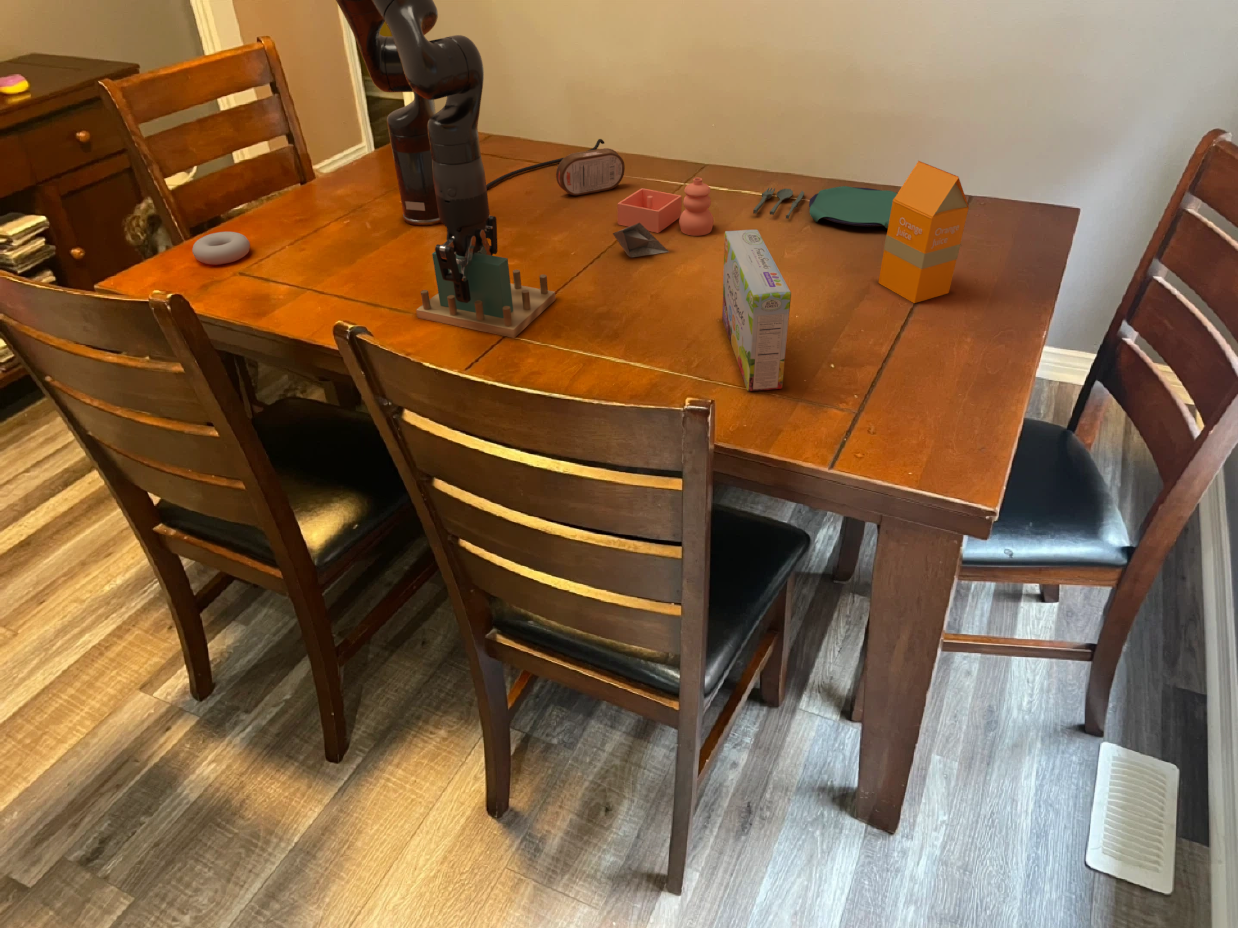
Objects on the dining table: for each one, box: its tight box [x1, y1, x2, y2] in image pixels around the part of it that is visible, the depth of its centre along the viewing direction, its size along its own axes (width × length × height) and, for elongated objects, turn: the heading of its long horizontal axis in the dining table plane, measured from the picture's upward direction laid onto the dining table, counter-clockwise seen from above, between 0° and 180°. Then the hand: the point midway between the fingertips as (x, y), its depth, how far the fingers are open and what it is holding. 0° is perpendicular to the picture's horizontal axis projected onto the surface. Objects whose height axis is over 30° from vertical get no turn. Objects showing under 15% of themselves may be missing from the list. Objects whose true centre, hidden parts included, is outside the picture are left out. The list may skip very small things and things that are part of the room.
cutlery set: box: [752, 185, 898, 229], centre depth 170 cm, size 20×30×2 cm, turn 69°
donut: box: [191, 231, 251, 266], centre depth 158 cm, size 10×4×10 cm
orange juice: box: [877, 160, 970, 304], centre depth 137 cm, size 8×9×20 cm
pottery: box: [616, 177, 714, 237], centre depth 164 cm, size 18×10×10 cm, turn 59°
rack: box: [415, 269, 556, 339], centre depth 139 cm, size 14×18×4 cm
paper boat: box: [612, 223, 670, 258], centre depth 154 cm, size 12×6×9 cm
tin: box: [555, 147, 626, 196], centre depth 180 cm, size 15×3×8 cm, turn 115°
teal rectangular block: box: [431, 251, 513, 318], centre depth 135 cm, size 3×12×9 cm, turn 66°
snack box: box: [721, 228, 792, 392], centre depth 123 cm, size 21×6×15 cm, turn 5°
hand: (474, 292), depth 136 cm, fingers open, 6 cm apart
